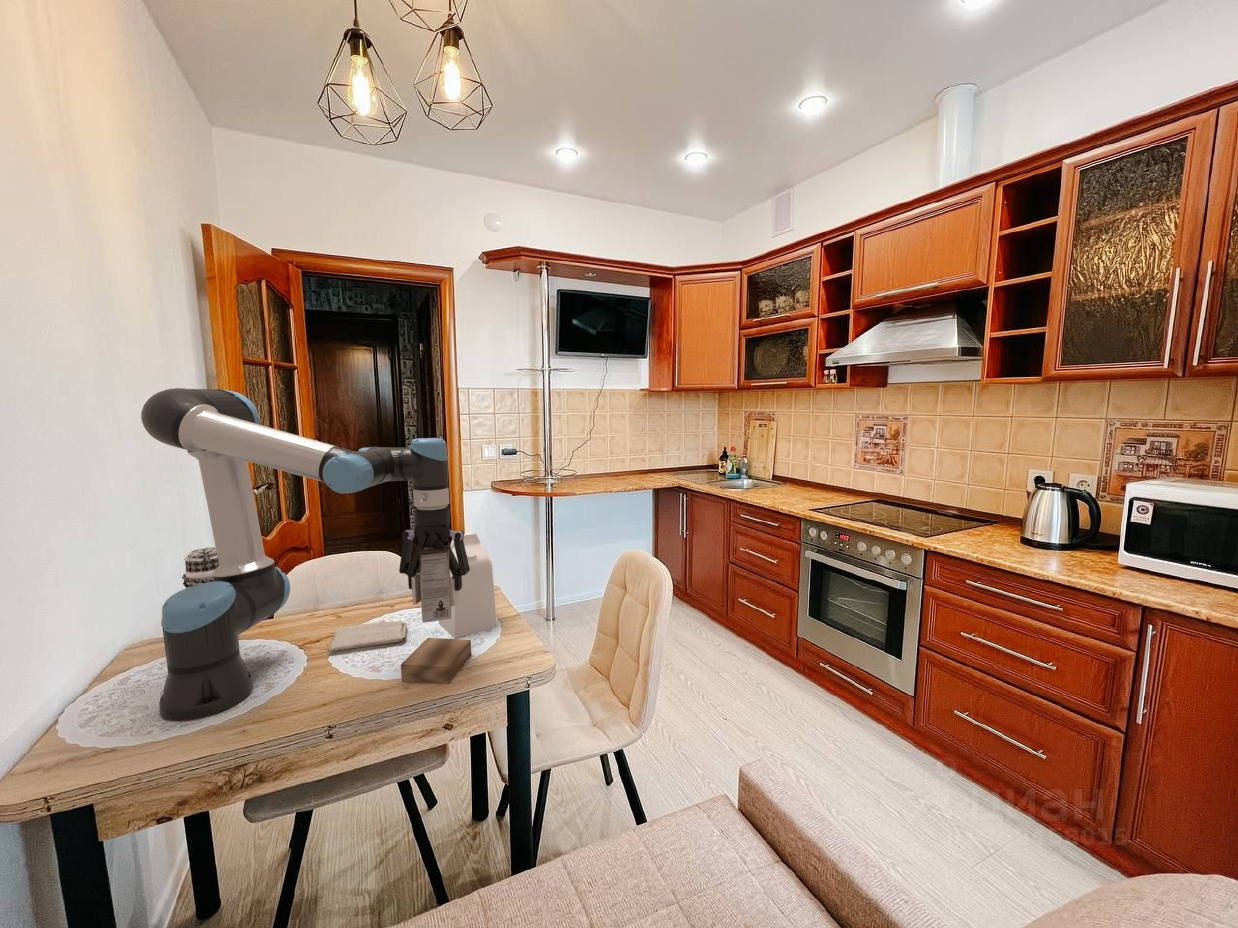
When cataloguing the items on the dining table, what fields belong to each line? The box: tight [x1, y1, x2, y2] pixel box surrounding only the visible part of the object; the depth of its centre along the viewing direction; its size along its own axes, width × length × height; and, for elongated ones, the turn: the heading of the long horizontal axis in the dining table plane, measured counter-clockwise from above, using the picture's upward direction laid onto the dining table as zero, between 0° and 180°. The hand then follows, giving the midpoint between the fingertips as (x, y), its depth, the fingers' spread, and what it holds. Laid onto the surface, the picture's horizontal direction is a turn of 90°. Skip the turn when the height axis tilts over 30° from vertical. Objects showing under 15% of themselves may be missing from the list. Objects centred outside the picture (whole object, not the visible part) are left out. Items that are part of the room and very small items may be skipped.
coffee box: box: [419, 545, 451, 624], centre depth 117 cm, size 9×6×16 cm
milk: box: [438, 532, 498, 639], centre depth 141 cm, size 12×12×26 cm
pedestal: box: [400, 637, 472, 685], centre depth 119 cm, size 11×13×4 cm
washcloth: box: [328, 620, 408, 656], centre depth 133 cm, size 12×18×3 cm, turn 111°
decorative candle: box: [181, 547, 219, 589], centre depth 128 cm, size 9×9×25 cm
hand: (436, 602), depth 117 cm, fingers closed on coffee box, 8 cm apart
